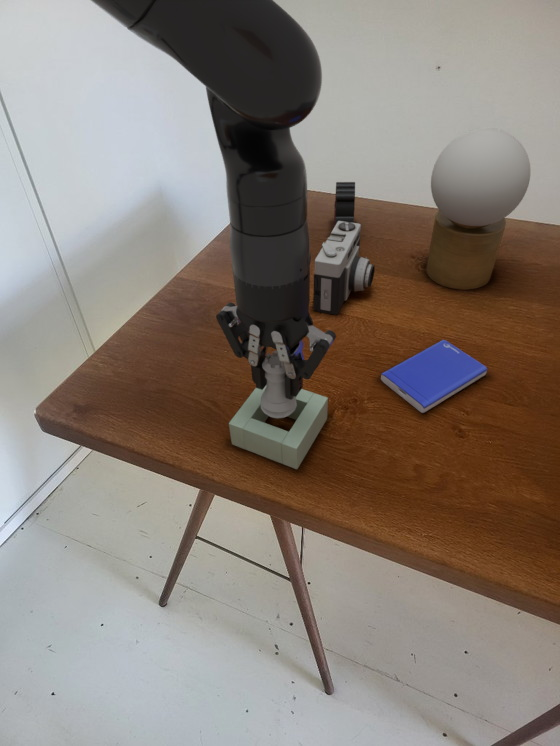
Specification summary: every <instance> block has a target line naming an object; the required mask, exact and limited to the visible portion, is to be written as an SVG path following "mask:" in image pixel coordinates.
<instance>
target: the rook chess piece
mask: <svg viewBox="0 0 560 746" xmlns="http://www.w3.org/2000/svg"><path fill="white" fill-rule="evenodd" d="M265 356H266V358H265V360H264V361H263V363H262V368H263V369H264V370H265V371H266V372H265V377H266V379H267V385H266V388H265V390H264V392H263V394H262V396H261V409H262V411H263V412H264V413H265V414H266V415H268V416H269V417H270V418H272V419H284V418H286V417H287V416H289V415H290V414H291V413H292V412H294V411H295V409H296V406H297V404H296V397H294V398H293V399H292V400H290V399H287V398H286V397H285V375H286V372H285V368H284V364H283V363H281V362H280V360H279V356H278V353H277V350H272V354H271V352H267V354H266V355H265ZM287 418H288V417H287Z"/></svg>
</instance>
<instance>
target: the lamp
mask: <svg viewBox="0 0 560 746" xmlns="http://www.w3.org/2000/svg"><path fill="white" fill-rule="evenodd" d="M430 176H431V177H430V191H431V196H432V198H433V202H434V204H435V206H436V207H437V209H438V210H437V212H436V213H435V215H434V216H435V217H434V222H433V228H432V233H431V239H430V243H429V251H428V256H427V261H426V266H425V271H426V274H427V276H428V277H429V279H430V280H432V282H435V283H436V284H438V285H439V286H443V287H445V288H448V289H453V290H461V291H462V290H474V289H478V288H482V287H484V286H485V285H487V284H488V283H489V282H490V280H491V279H492V274H493V272H494V268H495V264H496V261H497V257H498V253H499V250H500V247H501V242H502V240H503V235H504V232H505V228H506V225H507V220H506V217H507V216H509V215H510V214H511V213H513V212H514V211H515V210H516V209H517V207H518V206H519V205H520V204H521V202H522V201H523V199H524V198H525V195H526V193H527V191H528V188H529V184H530V181H531V162H530V158H529V155H528V152H527V150H526V149H525V147H524V146H523V144H522V143H521V141H519V139H517V138H516V137H515V136H514V135H512V134H511V133H510V132H507V131H505V130H502V129H498V128H495V127H480V128H474V129H471V130H468V131H466V132H464V133H462V134H459V135H458V136H456V137H455V138H453V139H452V140H450V142H448V144H447V145H446V146H445V147H444V148H443V149H442V151H441V152H440V154H439V155H438V157H437V159H436V161H435V163H434V166H433V167H432V172H431V175H430Z"/></svg>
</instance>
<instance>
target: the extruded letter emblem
mask: <svg viewBox="0 0 560 746" xmlns="http://www.w3.org/2000/svg"><path fill="white" fill-rule="evenodd" d="M334 197H335V198H334V213H333V228H334V227H335V225H336V224H337V222H338V221H344V222H351V223H355V204H356V182H355V181H336V182H335V196H334Z"/></svg>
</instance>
